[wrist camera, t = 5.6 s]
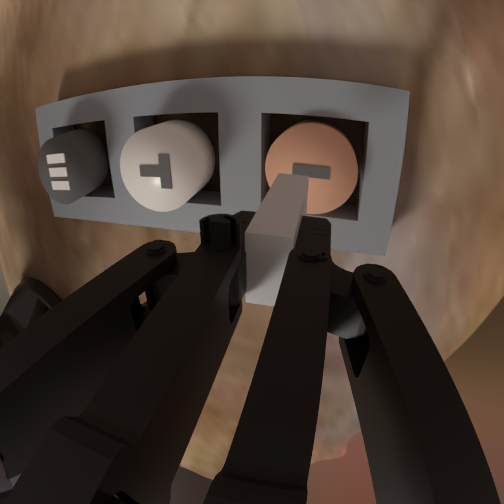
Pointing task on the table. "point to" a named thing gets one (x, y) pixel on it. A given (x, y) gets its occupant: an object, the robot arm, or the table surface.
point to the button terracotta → (316, 162)
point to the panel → (243, 147)
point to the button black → (72, 165)
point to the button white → (167, 164)
